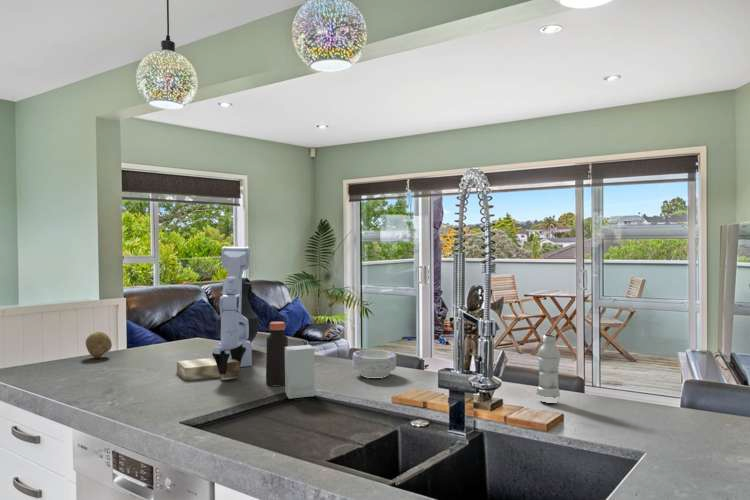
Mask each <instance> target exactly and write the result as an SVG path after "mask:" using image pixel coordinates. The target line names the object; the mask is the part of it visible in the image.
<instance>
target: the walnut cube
mask: <svg viewBox="0 0 750 500" xmlns="http://www.w3.org/2000/svg"><path fill="white" fill-rule="evenodd" d="M219 377H222V379H231V378H239V377H240V367H239V361H237V360H236V359H228V362H227V370H226V374H225V375H224V374H220V376H219Z"/></svg>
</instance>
